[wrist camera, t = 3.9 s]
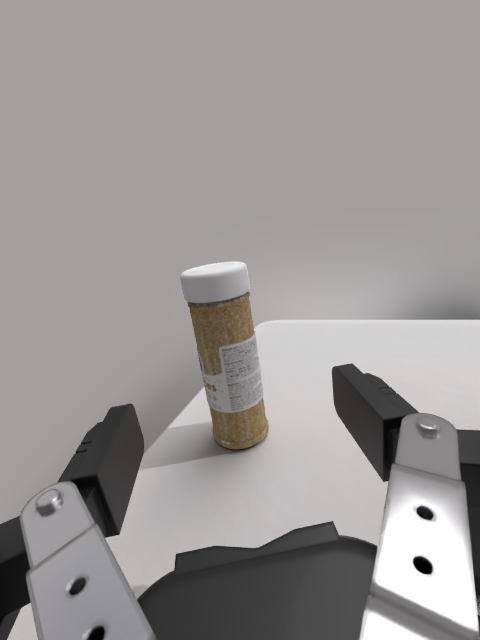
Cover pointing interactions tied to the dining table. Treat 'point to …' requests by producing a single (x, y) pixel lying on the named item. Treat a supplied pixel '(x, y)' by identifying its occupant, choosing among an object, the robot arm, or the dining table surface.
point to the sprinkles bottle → (227, 351)
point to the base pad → (475, 545)
